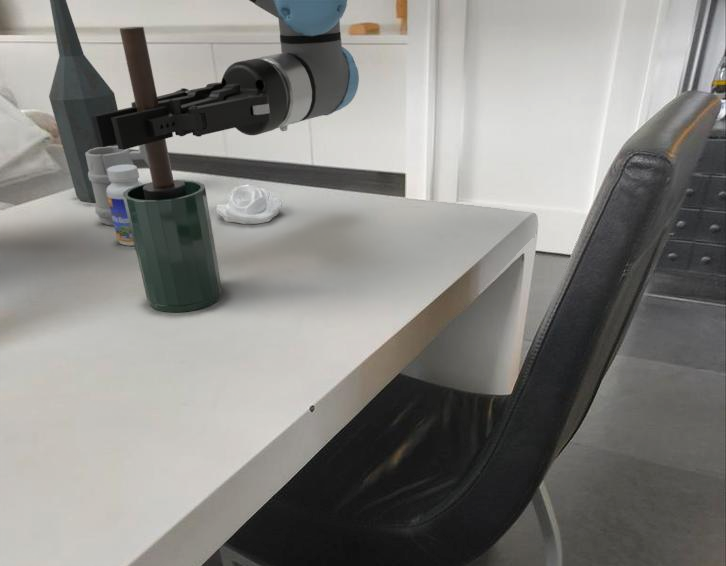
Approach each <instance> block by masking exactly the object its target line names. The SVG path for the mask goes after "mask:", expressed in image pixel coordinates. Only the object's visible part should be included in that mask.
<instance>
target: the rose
mask: <svg viewBox="0 0 726 566" xmlns="http://www.w3.org/2000/svg"><path fill="white" fill-rule="evenodd" d="M282 206H283V202H282V200H281V199H280V198H279V197H278V196H274V195H272V193H271V191H270V190H268V188H263V187H260V188H259V187H258V186H257V185H253V184H243V185H237V186H235V187H234V188H233V189H232V190H231V191H230V193H229V194H228V195H227V199H226V203H218V204H216V207H215V209H216V212H217V213H218V215H220V217H222V219H223V220H224V221H225V222H230V223H237V224H241V225H258V224H259V225H260V224H263V223H269V222H270V221H271V220H272V219H273V218H275V217H277V215H279V212H280V210H281V208H282Z"/></svg>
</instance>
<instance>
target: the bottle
mask: <svg viewBox="0 0 726 566" xmlns="http://www.w3.org/2000/svg"><path fill="white" fill-rule="evenodd" d="M49 3H50V9H51V15H52V20H53V26H54V27H53V28H54V33H55V36H56V37H55V38H56V44H57V51H58V60H57V63H56V68H55V71H54V75H53V79H52V82H51V87H50V89H49V90H50V91H49V95H48V98H49V102H50V106H51V109H52V113H53V116H54V120H55V123H56V127H57V130H58V131H57V132H58V134H59V138H60V142H61V145H62V149H63V152H64V156H65V161H66V163H67V166H68V170H69V175H70V178H71V181H72V184H73V185H72V186H73V189H74V193H75V196H76V197H77V199H79V200H80V202H87V203H93V204H94V203H96V200H95V196H94V191H93V187H92V182H91V181H90V180H89V177H88V172H89V169H88V164H87V160H86V155H85V153H86V152H88V151H89V150H91V149H94V148H98V147H99V146H98V142H97V138H96V134H95V130H94V126H93V122H92V118H91V116H93V115H97V114H102V113H107V112H111V111H116V110H119V109H118V105H117V100H116V95H115V92H114V91H113V90H112V88H111V86H109V85H108V84H107V82H106V81H105V79H104V78H103V76H102V75H101V74H100V73H99V72H98V71H97V69H96V68H95V66H93V64H92V63H91V61H90V60H89V59H88V58H87V56H86V55H85V54H84V50H83V47H82V45H81V42H80V38H79V35H78V32H77V30H76V27H75V24H74V19H73V17H72V15H71V12H70V9H69V5H68V2H67V0H49ZM111 146H112V147H113V146H118V145H117V144H115V145H111Z"/></svg>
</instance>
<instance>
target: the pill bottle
mask: <svg viewBox="0 0 726 566" xmlns="http://www.w3.org/2000/svg"><path fill="white" fill-rule="evenodd" d="M107 173H108V178H109V180H110V181H111V184H110V185H109V186H108V187H107V190H106V192H107V197H108V201H109V205H110V210H111V214H112V218H113V222H114V231H115V234H116V235H115V236H116V239H117V241H118V243H119V244H120V245H124V246H131V247H135V246H134V241H133V237H132V233H131V229H130V225H129V220H128V216H127V212H126V208H125V203H124V199H123V193H124V192H125V191H126V190H127V189H130V188H132V187H134V186H138V185H141V184H144V183H143V181H139V178H140V174H139V169H138V166H137V165H135V164H133V165H116V166H112V167H109V168H107Z"/></svg>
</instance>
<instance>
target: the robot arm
mask: <svg viewBox="0 0 726 566" xmlns="http://www.w3.org/2000/svg"><path fill="white" fill-rule="evenodd" d="M248 1H249V2H251V3H253V4H254V5H255V6H257V7H258V8H260V9H262V10H263V11H265V12H267V13H269V14H270V15H272V16H273V17H275V18H277V19H278V27H279V28H278V29H279V42H280V50H281V53H276V54H270V55H265V56H261V57H256V58H251V59H246V60H240V61H236V62H234V63H232V64H230V65H229V66H228V67H227V69H226V70H225V71H224V74H223V76H222V78H221V82H212V83H208V84H206V86H205V87H199V88H193V89H189V88H185V87H184V88H180V89H178V90H176V91H174V92H170V93H167V94H162V95H157V98H158V104H159V107H157V108H153V109H148V110H144V111H139V112H137V108H136V103H135V100H134V101H133V102H131V104H130V105H131V106H130V107H126V108H121V109H118V110H116V111H111V112H107V113H102V114H97V115H93V116H91V118H92V122H93V126H94V130H95V134H96V138H97V142H98V146H99V147H107V146H111V145H115V144H117V145H118V149H122V150H125V149H128V148H129V149H132V148H136V147H139V146H140V145H144V144H147V143H151V142H155V141H159V140H162V139H170V138H173V137H174V135H175V136H179V137H184V136H186V135H189V134H192V136H195V137H197V138H198V137H202V136H204V135H209V134H213V133H218V132H221V131H222V132H223V131H226V130H231V129H236V130H237V131H238V132H240V133H242V134H244V135H245V136H246V135H247V136H258V135H261V134H266V133H268V132H271V131H275V130H276V129H279V130H280V131H282V132H286V131H287V130H288V126H289V125H293V124H296V123H300V122H303V121H306V120H310V119H311V120H312V119H314V118H319V117H323V116H330V115H332V114H333V113H335V112H337V111H340V110H342V109H343V108H345V107H347V106H348V105H349V104H350V103H352V101H353V100H354V98H355V97H356V94H357V93H358V92H357V91H358V89H359V82H360V75H359V70H358V69H359V68H358V67H357V64H356V62H355V60H354V56H353V55H352V54H351V52H350V51H349V50H348V49H347V48H345V47H344V46H342V36H341V35H342V34H341V33H342V32H341V21H340V20H341V19H342V18H343V16H344V14H345V12H346V9H347V6H348V0H248ZM173 133H174V134H173Z"/></svg>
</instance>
